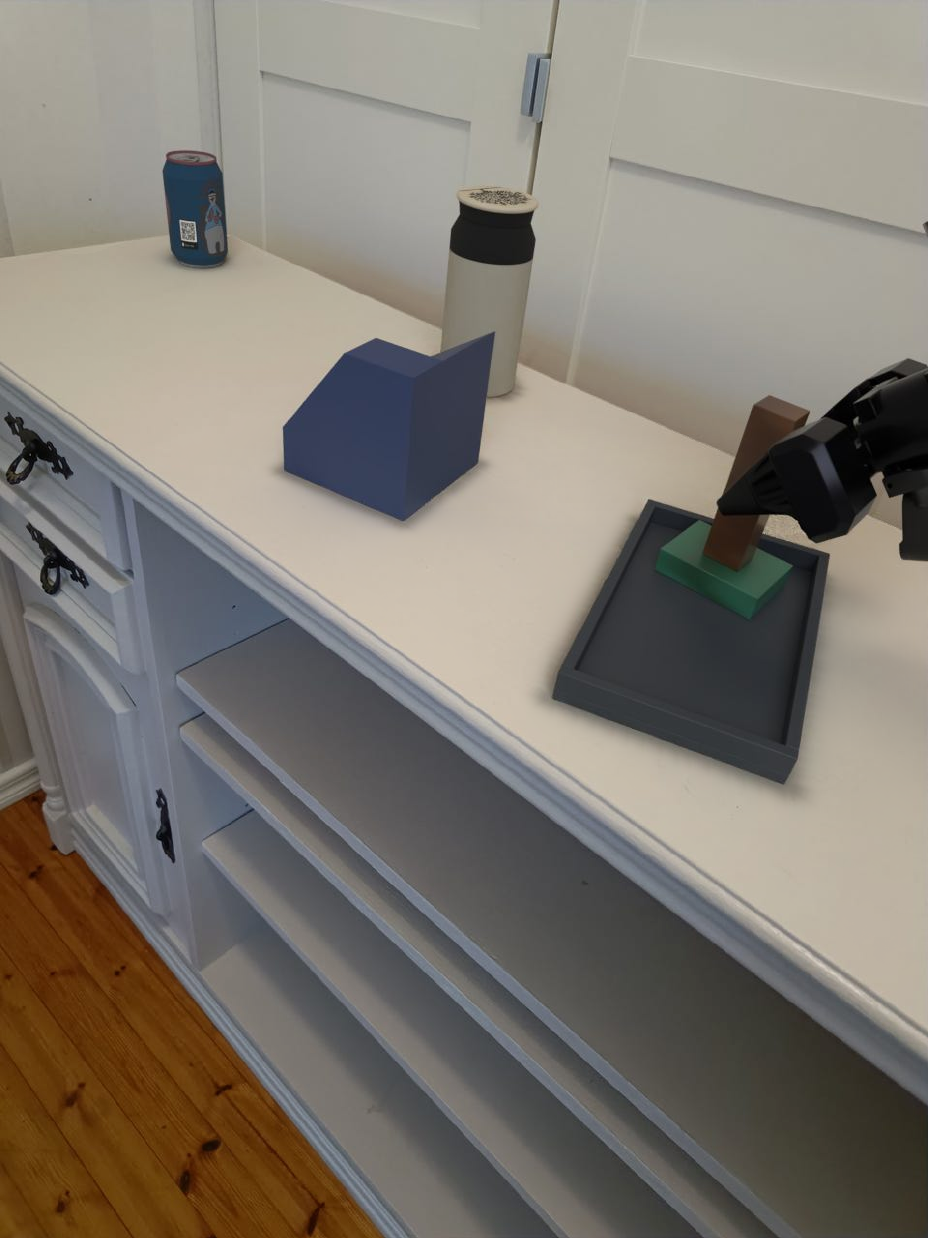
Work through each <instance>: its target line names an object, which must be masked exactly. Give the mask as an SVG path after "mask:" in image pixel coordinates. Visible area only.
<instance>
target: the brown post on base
mask: <svg viewBox="0 0 928 1238" xmlns="http://www.w3.org/2000/svg"><path fill="white" fill-rule="evenodd" d="M810 414H811V411H810V410H809V409H806V408H803V407H801V406H798V405H796V404H793V403H791V402H788V401H786V400H783V399H781V398H779V397H776V396H773V395H771V394H768V395H767V396H765V397H764V398H762V399H760V400H758V401H757V402H756V403H754V404H753V405H752V407H751V411H750V414H749V416H748V419H747V422H746V425H745V427H744V431H743V433H742V437H741V440H740V442H739V446H738V447H737V450H736V451H737V452H736V453H735V457H734V460H733V463H732V466H731V468H730V471H729V474H728V477H727V480H726V484H725V486H724V488H723V492H722V494H721V496H722V495H723V494H724V493H725V492H726V491H727V490H728V489H730V488H731V487H732V486H733V485H734V484H735V483H736V482H737V481H738V480H739V479H740V478H741V477H742V476H743V475H744V474H745V473H746V472H747V471H748V470H749V469H750V468H751V467H752V466H753V465H754V464H755V463H756V462H757V461H758V460H759V459H760V458H761V457H762V456H763V455H764V454H765V453H766V452H767V451H768V450H769V448H770V447H771V446H772V445H773V444H775V443H776V442H777V441H779V440H780V439H782V438H783V437H785V436H786V435H787V434H789V433H790V432H792V431H795V430H797V429H799V428H801V427H803V426H805V425H807V421H808V419H809V416H810ZM769 518H770V515H739V516H724V515H722V514H721V512H720V510H719V508H718V507H717V509H716V511H715V515H714V518H713V519H714V520H713V523H712V526H711V525H709V524H707V523H705V522H703V521H701V520H699V521H697V522H696V523H694V524H693V525H692V526H690V527H689V528H688V529H686V530H685V531H684V532H682V533H681V534H680V535H678V536H677V537H675V538H674V539H673V540H671V541H670V542H669V543H667V544H666V545H665V546H663V547H662V548H661V549H660V552H659V556H658V559H657V562H656V565H655V570H656V571H658V572H660V573H662V574H664V575H666V576H667V577H669V578H671V579H673V580H675V581H677V582H679V583H681V584H682V585H684V586H686V587H688V588H690V589H692V590H694V591H696V592H697V593H699V594H701V595H703V596H705V597H707V598H709V599H711V600H712V601H714V602H716V603H718V604H720V605H722V606H724V607H726V608H727V609H729V610H731V611H733V612H735V613H737V614H739V615H741V616H742V617H744V618H746V619H748V620H750V619H751V618H752V617H753V616H754V615H755V614H756V613H757V612H758V611H759V610H760V609H761V608H762V607H763V606H764V605H765V604H766V603H767V602H768V601H769V600H770V599H771V598H772V597H773V596H775V595H776V594H777V593H778V592H779V591H780V590H781V589H782V588H783V587H784V586H785V583H786V581H787V579H788V576H789V574H790V572H791V569H792V567H793V565H791V564H789V563H787V562H785V561H783V560H781V559H779V558H777V557H774V556H772V555H770V554H768V553H766V552H764V551H762V550H760V549H758V548H757V546H758V543H759V541H760V538H761V536H762V533H763V534H764V531H765V529H766V526H767V522H768V520H769Z"/></svg>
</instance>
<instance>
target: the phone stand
mask: <svg viewBox="0 0 928 1238" xmlns="http://www.w3.org/2000/svg"><path fill="white" fill-rule="evenodd" d="M494 337H495V331H494V332H492V333H489V334H486V335H484V336H481V337H479V338H476V339H474V340H471V341H469V342H466V343H463V344H461V345H458V346H456V347H453V348H451V349H448V350H445V351H443V352H438V353H435V354H432V355H427V354H424V353H422V352H418V351H417V350H416V351H415V350H413V349H410V348H407V347H404V346H401V345H398V344H395V343H393V342H389V341H386V340H384V339H381V338H378V337H374V338H373V339H370V340H368V341H366V342H364V343H362V344H360V345H358V346H355V347H354V348H352V349H350V350H348V351H346V352H344V353H343V354H342V356H340V358H339V359H337V361H336V362H335V363H334V365H333V366H331V368H330V369H329V370H328V372H327V373H326V374H325V376H323V378H322V379H321V380H320V382H319V383H318V384H317V385H316V387H315V388H314V389H313V390H312V391H311V393H309V395H308V396H307V397H306V399H304V401H303V402H302V403H301V404H300V406H299V407H298V408H297V409H296V410H295V412H294V413H293V414H292V415H291V416H290V418H289V419H288V420H287V421H286V422H285V424H284V425H283V426H282V445H283V446H282V448H283V470H284V472H287V473H289V474H291V475H294V476H297V477H299V478H301V479H304V480H306V481H309V482H310V483H313V484H315V485H317V486H320V487H322V488H325V489H327V490H329V491H332V492H334V493H336V494H339V495H341V496H344V497H346V498H348V499H351V500H352V501H354V502H358V503H360V504H363V505H365V506H367V507H369V508H372V509H374V510H376V511H379V512H381V513H384V514H385V515H388V516H390V517H392V518H395V519H397V520H400V521H402V522H404V521H406V520H407V519H408V518H409V517H411V516H412V515H414V514H415V513H416V512H417V511H418V510H420V509H421V508H423V507H424V506H425V505H426V504H427V503H429V502H430V501H431V500H433V499H435V497H436V496H438V495H439V494H440V493H441V492H443V491H444V490H446V489H447V488H448V487H449V486H451V485H452V484H454V483H455V482H456V481H457V480H459V479H460V478H461V477H463V476H464V475H465V474H466V473H467V472H469V471H470V470H472V469H473V468H474V467H475V466H477V465H478V464H479V460H480V452H481V443H482V437H483V428H484V421H485V415H486V406H487V399H488V397H487V391H488V383H489V376H490V368H491V360H492V353H493V345H494Z"/></svg>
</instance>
